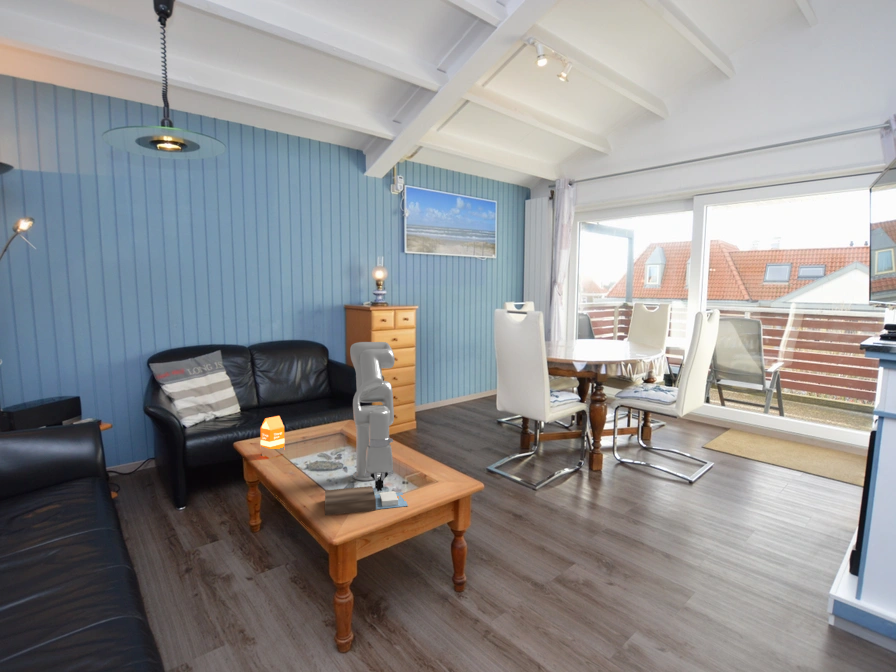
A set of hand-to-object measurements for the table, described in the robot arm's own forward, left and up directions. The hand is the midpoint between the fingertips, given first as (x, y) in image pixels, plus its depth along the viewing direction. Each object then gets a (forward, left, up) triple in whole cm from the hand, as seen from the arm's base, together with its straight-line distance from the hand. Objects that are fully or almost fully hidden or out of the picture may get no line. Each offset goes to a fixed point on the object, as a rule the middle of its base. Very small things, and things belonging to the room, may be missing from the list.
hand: (379, 489), depth 174 cm
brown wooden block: (0, -11, -5) cm, 12 cm away
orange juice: (-75, -47, -5) cm, 89 cm away
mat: (0, +4, -5) cm, 6 cm away
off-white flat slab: (+1, +4, -4) cm, 5 cm away
